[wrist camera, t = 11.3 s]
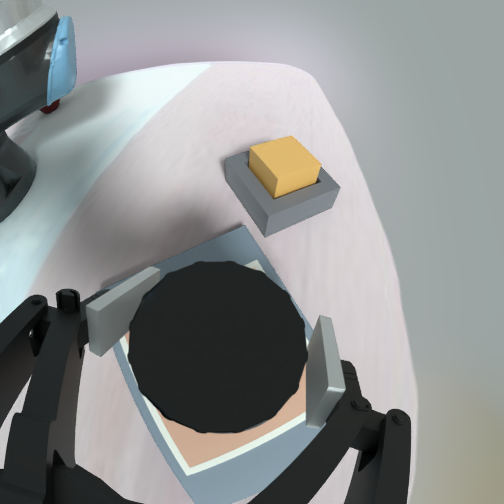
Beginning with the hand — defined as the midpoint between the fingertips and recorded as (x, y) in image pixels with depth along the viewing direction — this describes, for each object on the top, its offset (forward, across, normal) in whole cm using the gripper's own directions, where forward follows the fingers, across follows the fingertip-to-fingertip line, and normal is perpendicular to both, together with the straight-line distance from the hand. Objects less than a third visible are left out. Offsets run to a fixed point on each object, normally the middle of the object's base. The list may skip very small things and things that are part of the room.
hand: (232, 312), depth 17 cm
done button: (+16, 0, +8) cm, 18 cm away
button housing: (+17, 0, +7) cm, 18 cm away
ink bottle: (+2, 0, -6) cm, 6 cm away
